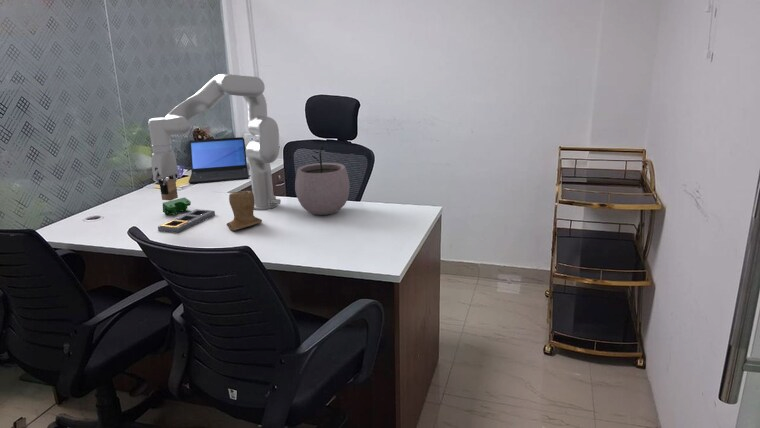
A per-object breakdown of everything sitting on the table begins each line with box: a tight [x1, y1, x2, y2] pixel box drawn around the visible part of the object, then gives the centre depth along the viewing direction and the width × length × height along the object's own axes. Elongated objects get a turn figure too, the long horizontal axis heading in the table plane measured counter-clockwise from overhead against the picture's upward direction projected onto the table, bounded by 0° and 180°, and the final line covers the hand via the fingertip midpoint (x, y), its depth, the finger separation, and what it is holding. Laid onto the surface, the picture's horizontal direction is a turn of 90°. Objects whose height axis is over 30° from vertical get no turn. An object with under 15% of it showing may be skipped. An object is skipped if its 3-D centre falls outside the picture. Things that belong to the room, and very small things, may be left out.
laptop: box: [188, 137, 249, 185], centre depth 321 cm, size 33×38×19 cm
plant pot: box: [294, 146, 351, 216], centre depth 237 cm, size 24×24×30 cm
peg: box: [159, 178, 179, 201], centre depth 223 cm, size 4×4×8 cm
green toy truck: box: [162, 197, 192, 216], centre depth 250 cm, size 12×6×9 cm, turn 133°
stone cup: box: [226, 190, 263, 232], centre depth 226 cm, size 15×12×15 cm
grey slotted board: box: [157, 208, 216, 234], centre depth 235 cm, size 10×25×2 cm, turn 160°
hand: (169, 192), depth 223 cm, fingers closed on peg, 4 cm apart
